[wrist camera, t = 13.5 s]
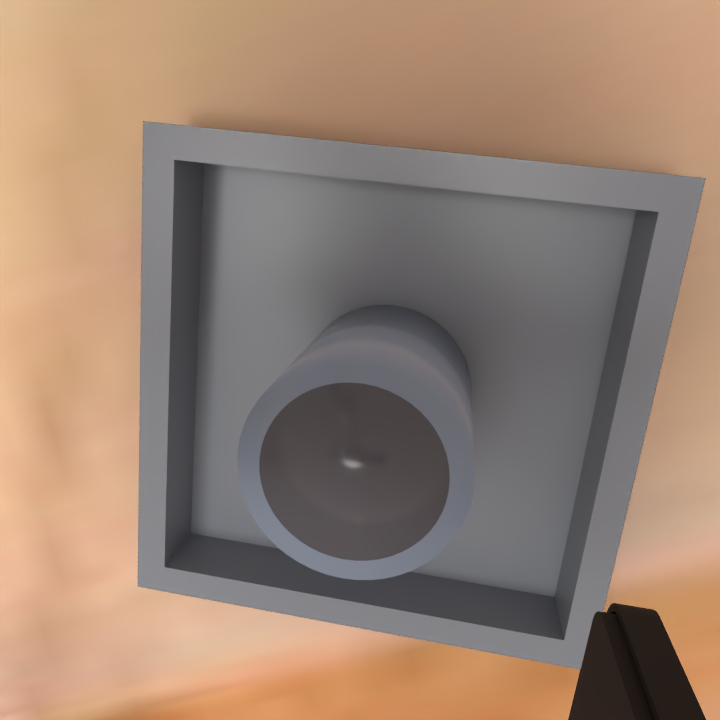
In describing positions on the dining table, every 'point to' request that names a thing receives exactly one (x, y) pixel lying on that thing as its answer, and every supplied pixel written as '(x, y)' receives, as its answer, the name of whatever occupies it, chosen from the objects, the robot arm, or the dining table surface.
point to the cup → (364, 447)
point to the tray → (450, 310)
